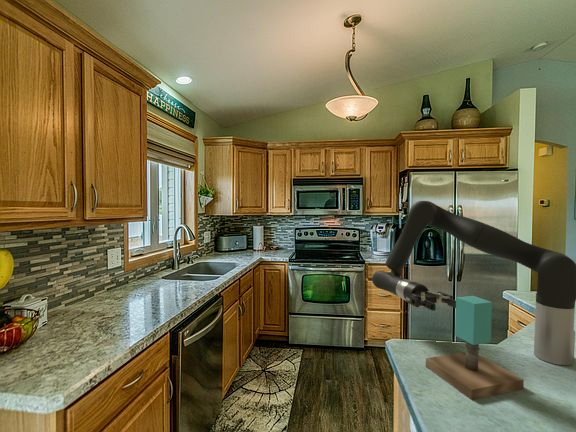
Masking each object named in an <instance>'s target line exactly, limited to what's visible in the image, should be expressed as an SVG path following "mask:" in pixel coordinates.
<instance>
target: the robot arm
mask: <svg viewBox="0 0 576 432" xmlns="http://www.w3.org/2000/svg"><path fill="white" fill-rule="evenodd" d="M405 220H406V221H405V223H404V226H403V228H402V231H401V232H400V234H399V237H398V239H397V241H396V242H395V244H394V245H393V248H392V249H391V251H390V253H389V255H388V257H387V258H386V261H385V266H386V267H387V268H388V269H389V270H390V272H388V271H384V270H377V271H376V272H374V273H373V274H372V277H371V281H372V284H373V285H374V287H376V288H377V289H380V290H383V291H387V293H388V292H389V293H392V294H393V295H395V296H397V297H399V298H400V299H402V300H403V301H405V302H406V303H408V304H409V305H411V306H413V307H416V308H420V307H421V308H423V309H424V308H425V309H428V310H430V311H432V312H434V311H436V306H437V305H439V306H442V305H446V306H449V307H451V308H454V309H456V299H454V295H451V294H447V293H445V292H442V291H437V292H434V291H430V290H429V289H428V287H427V286H426V285H424V284H422V283H419V282H417V281H414V280H411V279H407V278H404V277H402V274H403V271H404V270H403V269H404V268H405V266H406V264H407V262H408V261H409V259H410V256H411V254H412V253H413V250H414V248H415V245H416V243H417V241H418V239H419V237H420V236H421V234H422V233H423V231H424V230H425V229H426V227H427V226H428V227H429V226H431V227H433V228H435V229H439V230H441V231H443V232H446V233H448V234H449V235H451V236H453V238H455V239H457V240H458V241H460V242H461V243H464V244H465V245H467V246H469V247H471V248H473V249H476V250H478V251H481V252H483V253H486V254H487V255H492V256H495V257H498V258H501V259H504V260H505V259H506V260H508V261H513V262H515V263H517V264H520V265H522V266H524V267H526V268H528V269H530V270H532V271H533V272H536V273H537V286H536V293H535V310H534V311H535V312H534V313H535V314H534V315H535V316H534V317H535V318H534V337H533V339H534V342H533V355H534V356H535V357H536V358H538V359H540V360H542V361H544V362H546V363H550V364H554V365H558V366H571V365H572V364H573V363H574V362H573V361H575V348H576V347H575V342H576V331H575V311H576V308H575V307H576V262H575V261H574V260H573V259H572V258H570V257H569V256H567V254H566V255H565V254H564V253H561V252H558V251H554V250H550V249H547V248H543V247H540V246H537V245H535V244H531V243H529V242H526V241H524V240H522V239H520V238H518V237H516V236H514V235H512V234H510V233H508V232H506V231H503V230H502V229H500V228H498V227H495V226H492V225H489V224H487V223H484V222H482V221H479V220H476V219H473V218H469V217H466V216H462V215H459V214H455V213H453V212H451V211H448V210H447V209H445V208H443V207H441V206H439V205H437V204H435V203H433V202H431V201H429V200H419V201H416V202H415V203H413V204H412V205H411V207H410V210H409V212H408V215H407V218H406V219H405Z"/></svg>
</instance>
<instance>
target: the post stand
mask: <svg viewBox="0 0 576 432" xmlns="http://www.w3.org/2000/svg"><path fill="white" fill-rule="evenodd" d="M479 351H480V344H476V345H472V344H470V343H468V342H466V341H465V351H464V352H457V353H451V354H445V355H444V354H443V355H438V356H432V357H426V358H425V368H427V369H428V370H429V371H431V372H432V373H434V375H435V374H436V375H437V376H438V377H440V378H441V379H442V380H443V381H444V382H446V383H447V384H449V385H450V386H452V387H453V388H455V389H456V390H457V391H458V392H460V393H461V394H463V395H464V396H465V395H466V396H465V397H467V398H468V397H469V398H468V399H469V400H477V399H480V398H487V397H491V396H496V395H500V394H505V393H506V394H507V393H510V392H514V391H519V390H524V381H525V379H524V378H521V377H520V376H518V375H516V374H514V373H512V372H511V371H509V370H507V369H506V368H504V367H502V366H500V365H498V364H496V363H494V362H492V361H491V360H489V359H487V358H485V357H483V356H482V355H480V354H479ZM476 398H477V399H476Z"/></svg>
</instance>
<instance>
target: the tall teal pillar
mask: <svg viewBox="0 0 576 432" xmlns="http://www.w3.org/2000/svg"><path fill="white" fill-rule="evenodd" d="M455 300H456V308H455V324H454V326H455V327H454V330H455V331H454V337H457V338H459V339H461V340H463V341H465V343H466V342H468V343H470V344H472V345H476V344H479V345H482V344H489V343H492V323H493V322H492V317H493V316H492V314H493V313H492V312H493V302H492V301H489V300H487V299H484V298H481V297H479V296H476V295H466V296H457V297H455Z"/></svg>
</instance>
